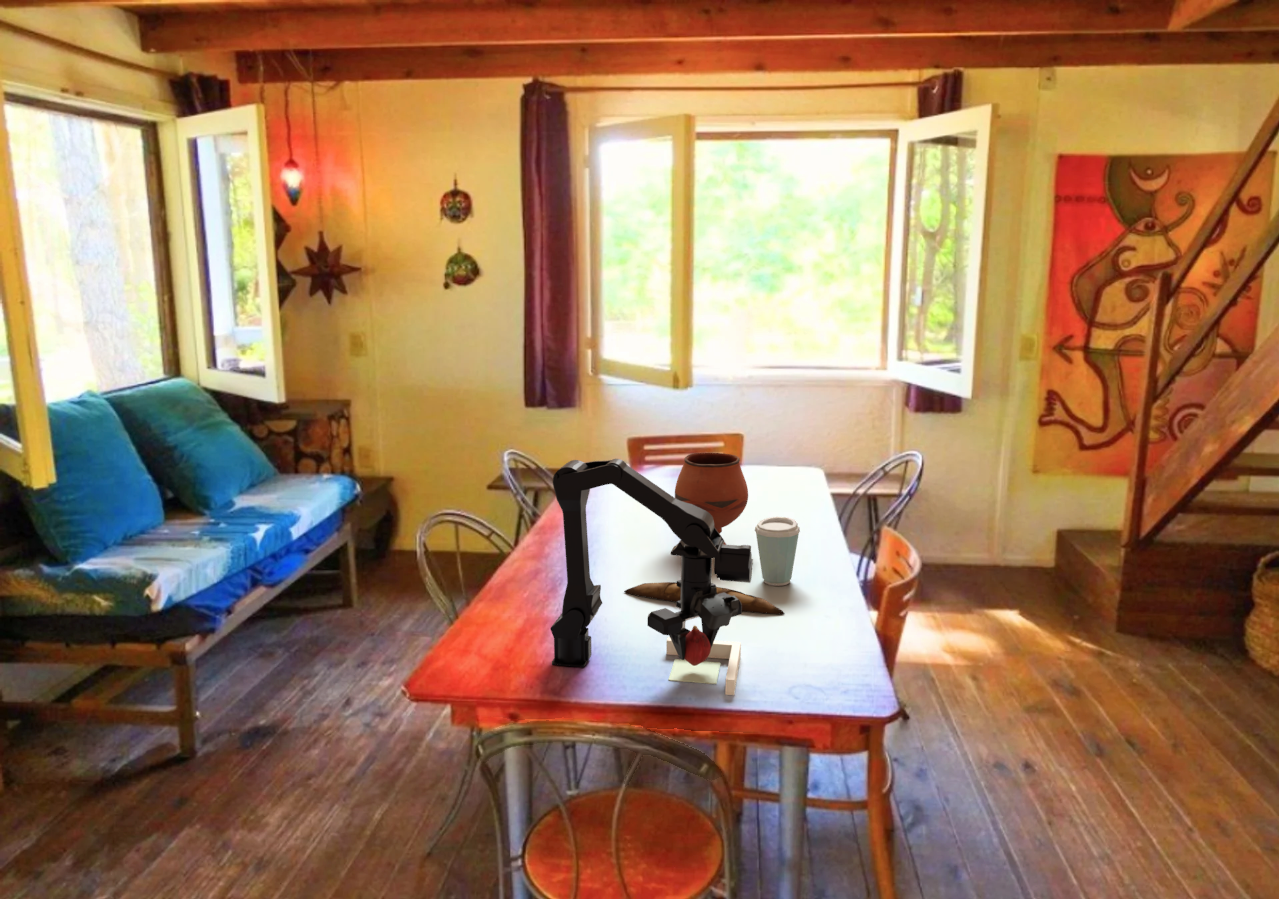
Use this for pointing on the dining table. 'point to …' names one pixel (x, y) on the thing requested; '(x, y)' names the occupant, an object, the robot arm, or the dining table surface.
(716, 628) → the robot arm
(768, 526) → the disposable coffee cup
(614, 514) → the dining table surface
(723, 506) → the goblet
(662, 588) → the bread
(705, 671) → the arena
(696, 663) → the onion
